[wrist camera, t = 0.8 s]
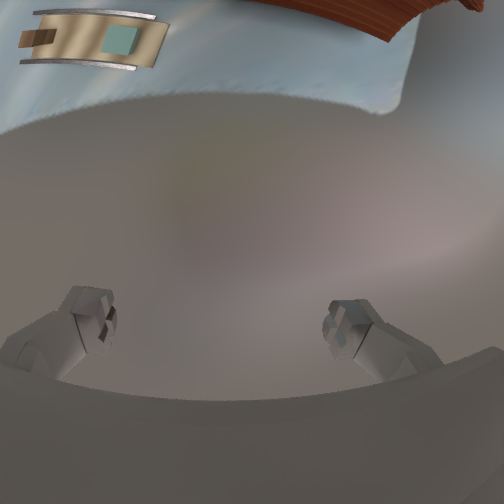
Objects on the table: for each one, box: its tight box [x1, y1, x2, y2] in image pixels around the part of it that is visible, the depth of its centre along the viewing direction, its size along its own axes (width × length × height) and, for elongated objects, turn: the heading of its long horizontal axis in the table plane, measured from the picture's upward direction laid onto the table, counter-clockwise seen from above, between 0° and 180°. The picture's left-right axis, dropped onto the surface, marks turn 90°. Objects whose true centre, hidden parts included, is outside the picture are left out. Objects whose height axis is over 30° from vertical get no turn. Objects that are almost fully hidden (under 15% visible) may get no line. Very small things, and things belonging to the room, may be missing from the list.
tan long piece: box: [18, 14, 169, 68], centre depth 27 cm, size 26×9×10 cm, turn 66°
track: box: [20, 9, 156, 71], centre depth 28 cm, size 26×11×1 cm, turn 66°
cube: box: [100, 25, 141, 55], centre depth 30 cm, size 5×5×5 cm
